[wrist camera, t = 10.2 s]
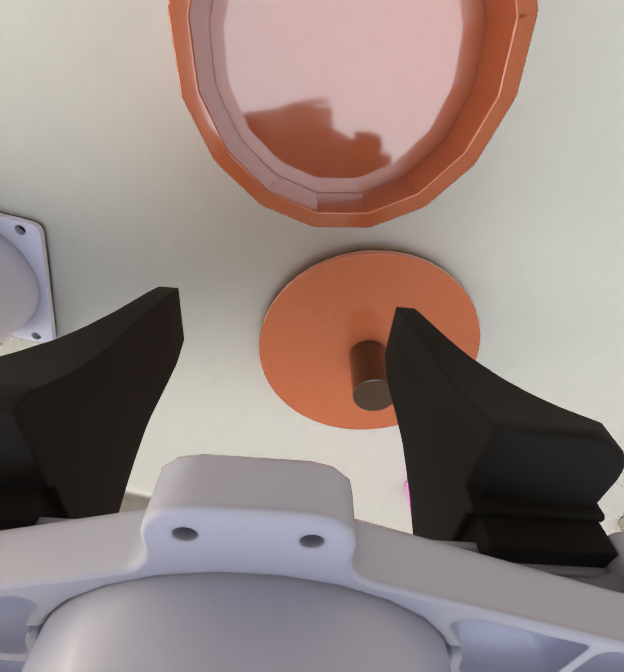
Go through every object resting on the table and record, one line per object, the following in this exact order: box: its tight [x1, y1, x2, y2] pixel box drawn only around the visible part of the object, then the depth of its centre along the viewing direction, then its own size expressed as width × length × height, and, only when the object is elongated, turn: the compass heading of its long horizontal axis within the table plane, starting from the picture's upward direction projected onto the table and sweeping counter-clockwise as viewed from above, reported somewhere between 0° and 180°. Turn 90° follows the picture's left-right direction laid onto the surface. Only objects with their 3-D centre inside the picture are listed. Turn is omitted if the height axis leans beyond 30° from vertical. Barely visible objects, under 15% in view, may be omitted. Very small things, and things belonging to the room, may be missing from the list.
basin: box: [168, 0, 538, 228], centre depth 15 cm, size 12×12×3 cm
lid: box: [259, 250, 480, 429], centre depth 24 cm, size 13×13×5 cm
